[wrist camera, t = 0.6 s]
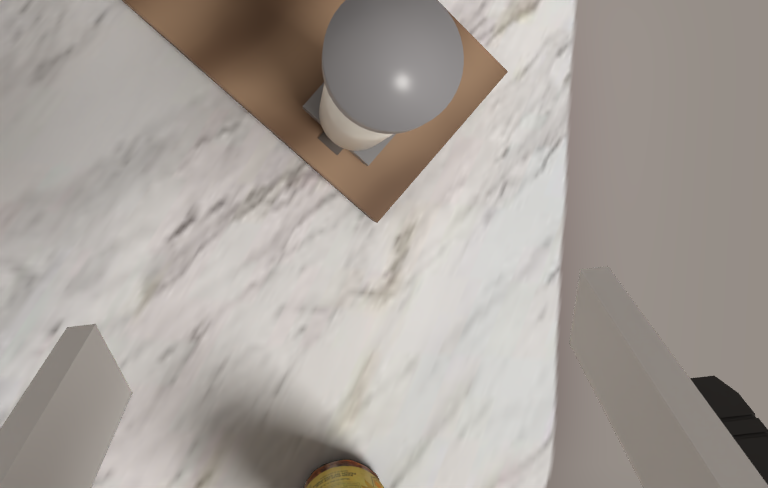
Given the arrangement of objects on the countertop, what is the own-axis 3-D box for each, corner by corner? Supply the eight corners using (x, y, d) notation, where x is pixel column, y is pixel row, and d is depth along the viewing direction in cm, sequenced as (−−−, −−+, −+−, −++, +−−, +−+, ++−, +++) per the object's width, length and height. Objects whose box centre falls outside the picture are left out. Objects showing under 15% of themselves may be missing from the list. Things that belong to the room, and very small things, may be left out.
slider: (295, 117, 31) (290, 57, 17) (348, 55, 32) (386, -52, 18) (359, 174, 32) (402, 161, 18) (411, 114, 33) (493, 57, 19)
